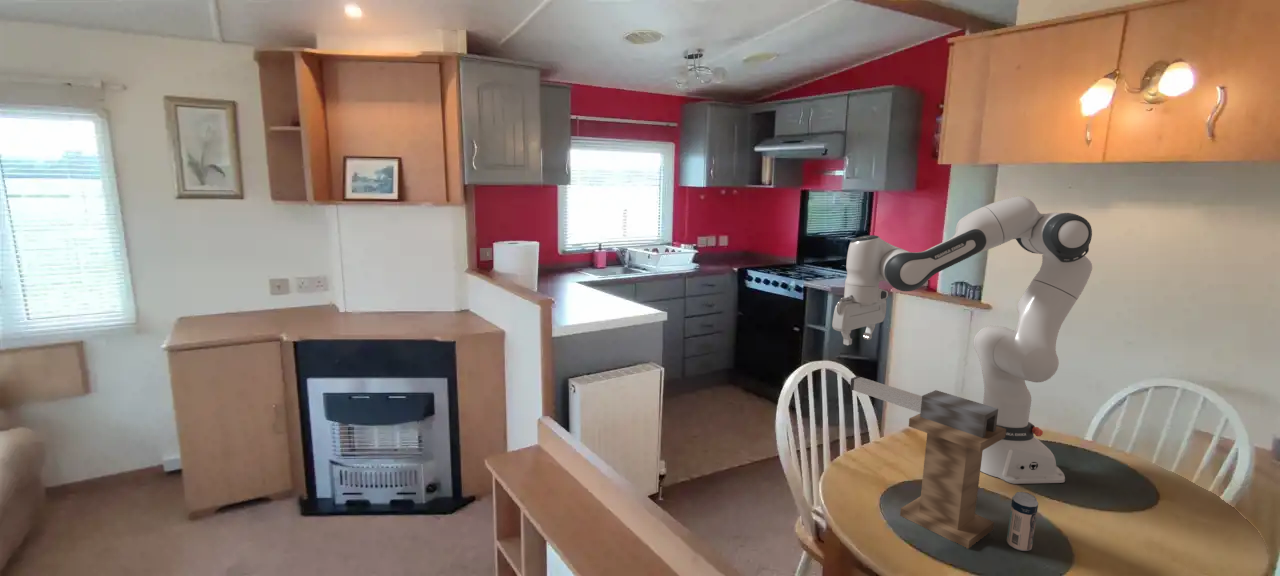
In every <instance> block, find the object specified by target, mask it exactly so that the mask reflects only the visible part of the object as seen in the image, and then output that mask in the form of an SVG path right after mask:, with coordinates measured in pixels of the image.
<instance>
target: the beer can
mask: <svg viewBox="0 0 1280 576" xmlns="http://www.w3.org/2000/svg"><path fill="white" fill-rule="evenodd" d="M1010 506H1011V507H1010V513H1009V519H1008V520H1009V521H1008V527H1007V536H1006V543H1007V544H1008V545H1009V546H1010V547H1012V548H1013V549H1015V550H1017V551H1022V552H1027V551H1031V550H1032V549H1033V545H1034V543H1033V542H1034V537H1035V536H1034V535H1035V530H1036V522H1037V516H1038V515H1037V514H1038V508H1039V502H1038V500H1037V498H1036V496H1034V495H1033V494H1031V493H1028V492H1025V491H1017V492H1016V493H1014V495H1013V496H1012V497H1011V505H1010Z"/></svg>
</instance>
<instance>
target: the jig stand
mask: <svg viewBox="0 0 1280 576" xmlns="http://www.w3.org/2000/svg"><path fill="white" fill-rule="evenodd" d="M921 396H922V403H921V413H918V414H916V415H914V416H912V417H909V418H908V427H909V428H912V429H915V430H918V431H921V432H923V433H926V443H925V450H924V451H925V452H924V461H923V471H922V481H921V482H922V483H921V489H920V492H921V493H920V496H918V497H917V498H916V499H914V500H912V501H910V502H908V503H907V504H905V505H904V506H902V507H900V511H899V516H900V517H902V518H903V519H904V518H905V519H906V520H907V521H910V522H913V523H915V524H916V525H918V526H920V527H922V528H924V529H926V530H928V531H930V532H932V533H935V534H937V535H939V536H941V537H943V538H944V539H946V540H949V541H951V542H953V543H955V542H956V543H955V544H957V543H958V544H957V545H959V544H960V545H959V546H961V545H962V546H961V547H963V546H964V547H963V548H965V547H966V548H965V549H968V550H969V549H970V548H971V547H973V546H974V545H975V544H977V543H978V542H979V541H981V540H982V539H984V536H985V537H986V536H987V535H989V534H990V533H991V532H993V531H994V527H995V526H994V525H995V522H994V521H992V520H990V519H988V518H986V517H983V516H981V515H979V514H977V513H976V508H977V501H978V492H979V483H980V477H981V476H980V474H981V471H980V469H981V460H982V452H983V450H984V449H986V448H988V447H989V446H991V445H993V444H995V443H996V442H998V441H1000V440H1002V439H1003V438H1005V435H1006V429H1005V428H1002V427H998V426H996V424H997V416H998V408H994V407H991V406H988V405H984V404H983V403H982V402H981V403H980V402H978V401H974V400H970V399H967V398H964V397H960V396H957V395H954V394H951V393H947V392H943V391H941V390H937V389H936V390H933V391H930V392H929V393H926V394H923V395H921ZM992 530H993V531H992ZM988 533H989V534H988ZM980 539H981V540H980ZM976 542H977V543H976ZM972 545H973V546H972Z"/></svg>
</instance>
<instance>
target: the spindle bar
mask: <svg viewBox="0 0 1280 576" xmlns="http://www.w3.org/2000/svg"><path fill="white" fill-rule="evenodd" d="M849 386H850V388H849V389H850V390H851V391H854V392H857V393H859V394H863V395H866V396H869V397H873V398H875V399H878V400H881V401H883V402H884V401H885V402H887V403H890V404H892V405H893V404H894V405H896V406H899V407H902V408H905V409H907V410H911V411H914V412H916V413H918V414H920V413H921V403H922V396H923V395H920V394H917V393H913V392H910V391H907V390H904V389H900V388H897V387H895V386H891V385H888V384H883V383H880V382H877V381H874V380H871V379H868V378H865V377H863V376H862V377H861V376H859V375H857V376H854V377H851V378H850V385H849Z"/></svg>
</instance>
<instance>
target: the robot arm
mask: <svg viewBox="0 0 1280 576" xmlns="http://www.w3.org/2000/svg"><path fill="white" fill-rule="evenodd" d="M1092 236H1093V229H1092V226H1091V223H1090V222H1089V221H1088V220H1087V219H1086V218H1084V217H1083V216H1081V215H1079V214H1076V213H1073V212H1047V213H1040V211H1039V210H1038V208H1037V206H1036V204H1035V203H1034V202H1033V201H1032V200H1031V199H1029V198H1028V197H1026V196H1021V195H1018V196H1017V195H1016V196H1012V197H1008V198H1005V199H1001V200H998V201H994V202H991V203H989V204H986V205H984V206H982V207H980V208H979V207H978V208H977V209H974V210H972V211H971V212H969V213H968V214H966V215H965V216H963V217H962V218H960V219H959V220H958V222H957V223H956V226H955V234H954V235H952V237H950V238H948V239H947V240H945V241H943V242H940V243H938V244H936V245H934V246H931V247H929V248H928V249H926V250H924V251H918V252H915V251H914V252H913V251H908V250H906V249H904V248H901V247H898V246H895V245H894V244H891V243H889V242H886V240H883V239H882V238H881V237H880V236H879V235H875V234H874V235H873V234H872V235H863V236H858V237H855V238H853V239H852V240H851V241H850V242H849V245H848V249H847V254H846V265H845V268H846V277H845V280H844V281H845V282H844V292H843V293H844V294H843V296H842V297H841V298H840V299H839V300H838V302H837V303H836V305H835V307H834V312H833V316H832V322H831V323H832V325H831V326H832V329H833V330H835V331H837V332H840V333H841V337H842V338H843V341H842V343H843V345H845V346H851V345H852V344H853V338H851V333H852V331H853V330H856V329H861V328H865V327H866V328H865V332H863V335H862V338H863V339H864V340H867V341H868V340H871V339H872V338H873V337H872V336H873V333H874V330H875V327H876V325H877V324H880V323H883V322H884V321H885V318H886V315H887V313H886V312H887V298H888V297H889V291H888V290H885V289H883V288H880V287H879V286H880V282H883V281H884V282H887V283H889V284H890V286H891V287H893V288H894V289H895V290H897V291H900V292H913V291H916V290H918V289H920V288H921V287H922V286H924V285H925V284H926V283H927V282H928V281H929V280H930V279H931V278H932V277H933V276H935V275H936V274H938V273H940V272H941V271H944V270H946V269H948V268H950V267H952V266H954V265H956V264H958V263H961V262H962V261H964V260H967V259H969V258H971V257H973V256H975V255H977V254H980V253H982V252H986V251H989V250H991V249H993V248H994V249H995V248H996V247H998V246H1001V245H1003V244H1005V243H1008V242H1010V241H1011V240H1016V241H1017V243H1018V245H1019V246H1020V247H1021V248H1022V249H1024V250H1025V251H1027V252H1029V253H1031V254H1039V255H1042V256H1041V257H1042V259H1041V260H1042V261H1041V262H1042V263H1041V265H1040V268H1039V270H1038V271H1037V273H1036V274H1035V276H1034V278H1033V279H1032V281H1031V282H1030V283H1029V285H1028V286H1027V289H1026V290H1025V291H1024V293H1023V294H1022V296H1021V297H1020V299H1019V301H1018V302H1017V305H1016V310H1017V313H1018V321H1017V324H1016V327H1015V330H1014V329H1012V328H1009V327H1007V326H999V325H987V326H985V327H982V328H981V329H980V330H979V331H977V332H976V334H975V336H974V338H973V349H974V351H975V352H976V354H977V356H978V358H979V362H980V367H981V374H982V379H983V401H982V404H984V405H988V406H991V407H994V408H998V416H997V424H996V426H998V427H1002V428H1005V429H1006V435H1005V438H1003V439H1002V440H1000V441H998V442H996V443H995V444H993V445H991V446H989V447H988V448H986V449H984V450H983V452H982V460H981V469H980V472H981V473H984V474H986V475H989V476H991V477H995V478H997V479H1001V480H1002V481H1004V482H1007V483H1010V484H1013V485H1014V484H1016V485H1017V484H1024V485H1025V484H1060V483H1061V484H1062V483H1065V481H1066V477H1065V474H1064V472H1063V470H1061V468H1059V466H1057V463H1056V457H1055V455H1054V454H1053V452H1052V451H1051V449H1050V448H1049V447H1047V446H1046V445H1045V444H1044V443H1043V442H1042V441H1041V440H1039V439H1038V438H1037V437H1039V438H1040V437H1042V436H1043V434H1044V432H1043V430H1042V429H1040V428H1039V427H1037V426H1035V425H1034V424H1033V423H1032V422H1030V414H1031V413H1030V412H1031V406H1032V395H1031V392H1030V390H1029V389H1028V387H1027V384H1026V381H1027V382H1032V383H1043V382H1047V381H1048V380H1051V378H1053V376H1055V374H1056V373H1057V371H1058V370H1059V369H1058V368H1059V364H1060V363H1059V357H1058V354H1057V351H1056V349H1057V340H1058V335H1059V332H1060V329H1061V327H1062V325H1063V323H1064V322H1065V320H1066V318H1067V317H1068V315H1069V313H1070V312H1071V310H1072V308H1073V307H1074V305H1075V304H1076V303H1077V301H1078V299H1079V297H1080V296H1081V294H1082V292H1083V291H1084V289H1085V287H1086V285H1087V284H1088V282H1089V279H1090V276H1091V275H1092V270H1093V263H1092V261H1091V260H1090V258H1088V257H1087V256H1086V255H1087V254H1088V253H1089V250H1090V249H1089V247H1090V244H1091V241H1092Z"/></svg>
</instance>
